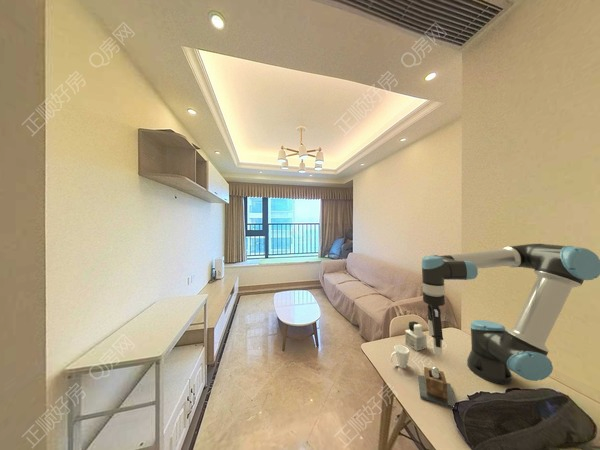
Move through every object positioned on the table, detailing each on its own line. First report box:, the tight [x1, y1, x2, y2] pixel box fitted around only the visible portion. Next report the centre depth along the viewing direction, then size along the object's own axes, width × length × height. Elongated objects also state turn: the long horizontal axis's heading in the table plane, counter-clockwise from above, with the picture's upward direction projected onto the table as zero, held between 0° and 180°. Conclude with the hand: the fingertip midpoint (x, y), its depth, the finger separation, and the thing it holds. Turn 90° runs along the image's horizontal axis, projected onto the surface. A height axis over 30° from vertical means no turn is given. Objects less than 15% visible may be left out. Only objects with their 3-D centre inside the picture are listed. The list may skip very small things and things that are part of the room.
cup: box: [389, 344, 410, 369], centre depth 96 cm, size 7×10×8 cm
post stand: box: [417, 366, 457, 410], centre depth 80 cm, size 12×12×10 cm
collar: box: [423, 366, 448, 399], centre depth 80 cm, size 7×7×6 cm
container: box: [404, 320, 428, 352], centre depth 111 cm, size 8×8×13 cm
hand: (434, 344), depth 80 cm, fingers open, 13 cm apart
